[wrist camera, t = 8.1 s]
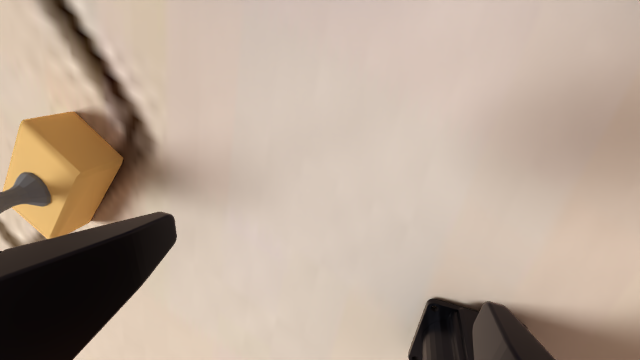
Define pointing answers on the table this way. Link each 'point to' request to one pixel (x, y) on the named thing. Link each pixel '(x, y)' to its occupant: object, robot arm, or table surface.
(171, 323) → the table surface
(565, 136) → the table surface
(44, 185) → the rubber stamp
